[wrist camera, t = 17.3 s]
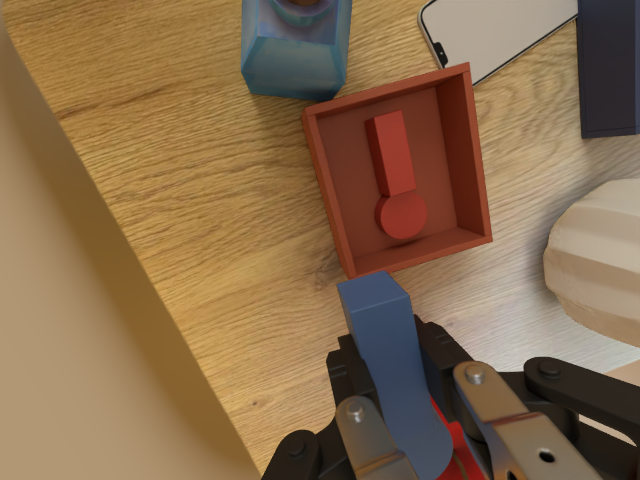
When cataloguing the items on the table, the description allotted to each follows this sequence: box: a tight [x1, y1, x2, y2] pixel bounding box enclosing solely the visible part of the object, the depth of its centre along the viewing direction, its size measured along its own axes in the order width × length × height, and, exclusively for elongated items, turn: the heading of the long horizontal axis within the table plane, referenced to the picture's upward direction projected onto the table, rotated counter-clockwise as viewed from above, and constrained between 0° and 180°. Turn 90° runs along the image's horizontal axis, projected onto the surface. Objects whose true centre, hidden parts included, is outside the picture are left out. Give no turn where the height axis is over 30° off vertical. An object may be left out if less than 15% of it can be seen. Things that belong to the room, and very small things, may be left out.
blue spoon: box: [337, 270, 453, 480], centre depth 13 cm, size 10×4×3 cm, turn 15°
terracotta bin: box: [301, 62, 493, 280], centre depth 25 cm, size 13×12×4 cm
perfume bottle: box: [241, 0, 352, 102], centre depth 18 cm, size 6×6×12 cm
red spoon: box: [364, 109, 427, 239], centre depth 25 cm, size 10×4×3 cm, turn 15°
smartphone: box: [417, 0, 578, 87], centre depth 25 cm, size 7×1×15 cm
